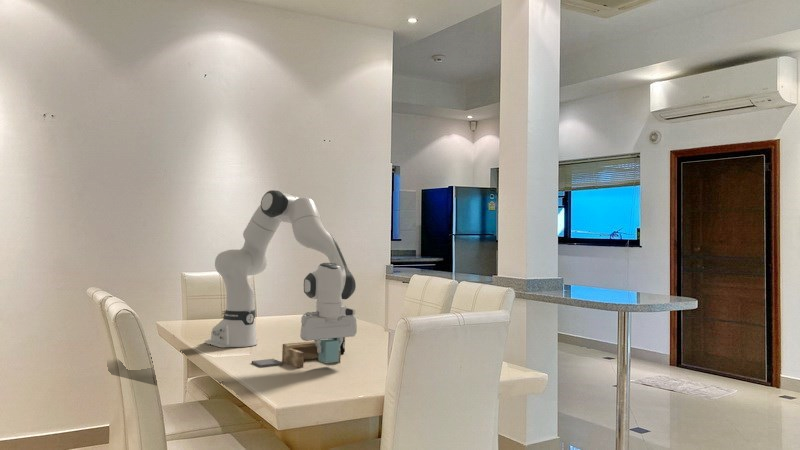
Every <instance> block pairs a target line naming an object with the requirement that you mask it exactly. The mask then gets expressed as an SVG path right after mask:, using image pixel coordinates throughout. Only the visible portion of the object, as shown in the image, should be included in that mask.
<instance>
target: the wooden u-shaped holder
mask: <svg viewBox="0 0 800 450" xmlns="http://www.w3.org/2000/svg"><path fill="white" fill-rule="evenodd" d="M281 353H282V355H281V357H282V358H281V360H282V361H281V362H283V363H287V364H289V365H291V366H294V367H296V368H300V369H301V368H304V361H305V360H310V359H319V353H318V352H317V346H316V345H315V343H314V340H311V341H303V342H302V341H301V342H291V343H282V351H281ZM341 355H342V354H341V348H340V351H339V362H334V364H340V363H341Z"/></svg>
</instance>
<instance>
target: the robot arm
mask: <svg viewBox="0 0 800 450" xmlns="http://www.w3.org/2000/svg"><path fill="white" fill-rule="evenodd" d="M281 222H283V223H289V224H291V226H292V227H291V228H292V232H293V235H294V238H295V240H296V242H298V243H299V244H300V245H301V246H303V247H305V248H307V249H312V250H313V251H314V250H315V251H317V252H320V253H321V254H322V255H324V256H326V258H328V261H329V262H323V263H320V264H319V265H318V267H317V269H316V270H315V271H312V272H309V273H307V275H306V276H305V278H304V279H303V292H304V294H305V295H306V297H308V298H310V299H313V300H316V302H315V303H316V304H315V305H316V307H315V309H316V311H312V312H311V311H310V312H305V313H303V314H302V316H301V318H300V319H301V320H300V321H301V322H300V323H301V326H300V336H299V337H300V339H301V340H302V341H304V342H309V341H314V343H315V345H316V346H317V352H318V353H323V352H324V351H323V350H324V348H323V347H321V346H320V344H319V343H321V340H324V339H332V338H337V340H338V341H339V351H340V346H341V344H342V342H343V337H345V338H350V337H351V338H352V337H355V336H356V334H357V331H358V329H357V318H356V317H355V315H356V309H354V308H352V307H351V308H350V307H348V306H345V305H343V300H348V299H349V298H350V297H352V295H353V294H354V293H355V291H356V279H355V277H354V275H353V274H352V272H351V271H350V268H349V267H348V265H347V262H346V260H345V258H344V256H343V253H342V251H341V248H340V247H339V244H338V242H337V240H336V239H335V237H334V235H332V234H330V233H329V231H327V229H326V228H325V226H324V225H323V223H322V218H321V215H320V211H319V209H318V207H317V204H316V203H315V201H314V200H313V199H311V198H310V197H306V196H302V197H299V196H296V195H294V194H289V193H286V192H282V191H280V190H274V189H273V190H268V191H266V193H265V194H264V195H263V196H262V198H261V200H260V204H259V205H258V207H257V208H256V210H255V211H254V213H253V214H252V216H251V218H250V220H249V221H248V223H247V225H246V227H245V229H244V230H243V233H242V236H243V237H242V238H243V239H244V244H243V246H242V247H241V248H240V249H227V250H224V251H221V252H220V253H218V254H217V255H216V257H215V260H214V268H215V270H216V272H217V273H218V274H219V276H220V277H222V280H223V282H224V286H225V292H226V310H224V311H223V310H222V315H223V317H222V318H223V319H222V320H221V321H219V322H218V323H217V324H216V325H215V326H213V327H212V328H211V334H210V338H209V339H206V340H204V344H207V345H210V344H211V346H214V347H219V348H245V347H252V346H257V345H258V341H259V340H258V338H257V329H256V322H255V319H256V309H255V295H256V294H255V293H256V292H255V290H254V288H252V286H251V284H250V283H249V279H248V276H249V277H250V276H255V275H258V274H260V273H262V272H264V270H265V269H266V268H267V261H268V259H267V256H266V252H267V249H268V246H269V244H270V242H271V240H272V238H273V237H274V235H275V233H276V231H277V229H278V228H279V226H280V224H281Z"/></svg>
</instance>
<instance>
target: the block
mask: <svg viewBox="0 0 800 450" xmlns="http://www.w3.org/2000/svg"><path fill="white" fill-rule="evenodd" d="M319 344H320V346H321V347H323V348H324V350H323V351H324V352H323V353H319V358H318V362H321V363H324V364H330V363H331V364H332V363H335V362H339V341H338V340H335V339H322V340H321V343H319Z"/></svg>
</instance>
